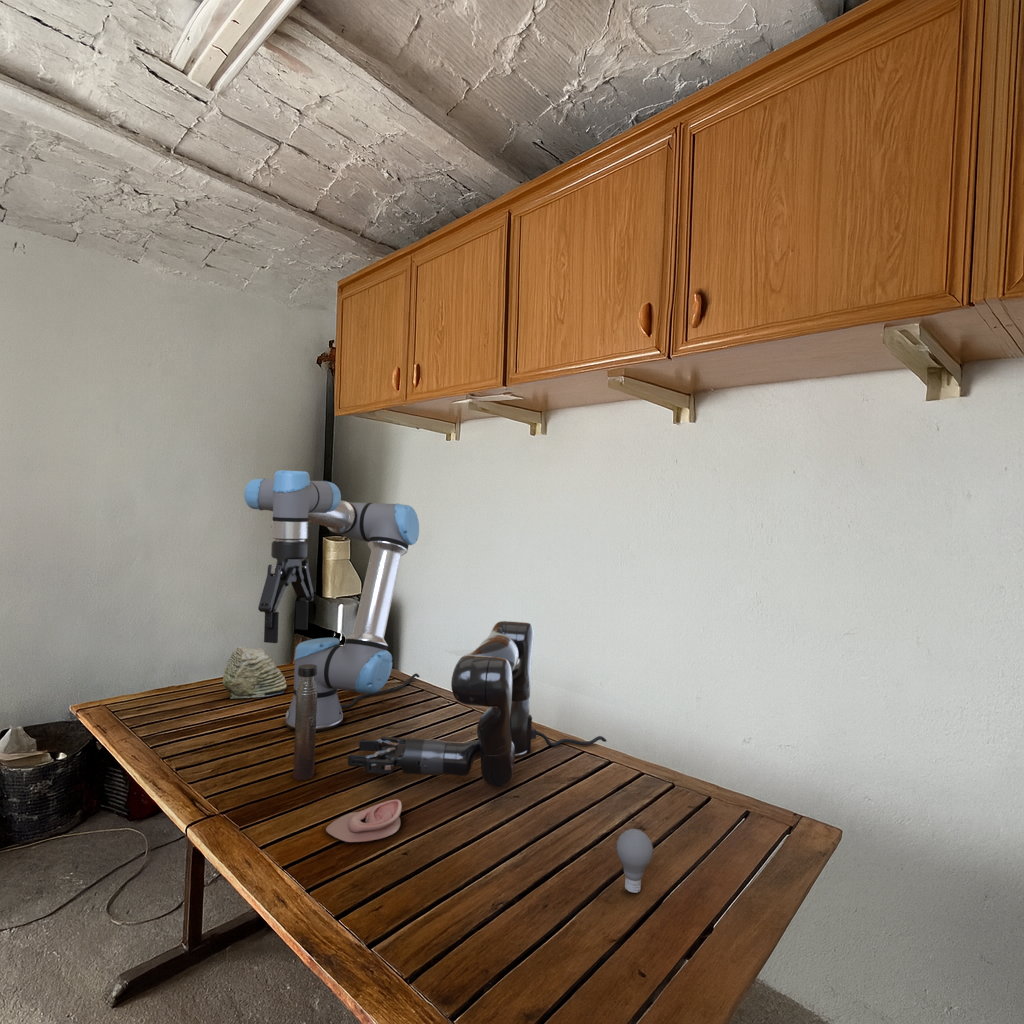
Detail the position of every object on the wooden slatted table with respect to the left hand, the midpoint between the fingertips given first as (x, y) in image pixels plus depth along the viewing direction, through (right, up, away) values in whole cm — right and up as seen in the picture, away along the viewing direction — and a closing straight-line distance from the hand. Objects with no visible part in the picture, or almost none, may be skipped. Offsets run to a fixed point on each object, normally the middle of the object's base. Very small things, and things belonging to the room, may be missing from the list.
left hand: (286, 635), depth 141 cm
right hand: (+15, -27, +2) cm, 30 cm away
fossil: (-31, -30, +57) cm, 71 cm away
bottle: (+3, -32, +3) cm, 32 cm away
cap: (+4, -8, +2) cm, 9 cm away
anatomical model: (+22, -33, -19) cm, 44 cm away
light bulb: (+70, -36, -35) cm, 86 cm away
